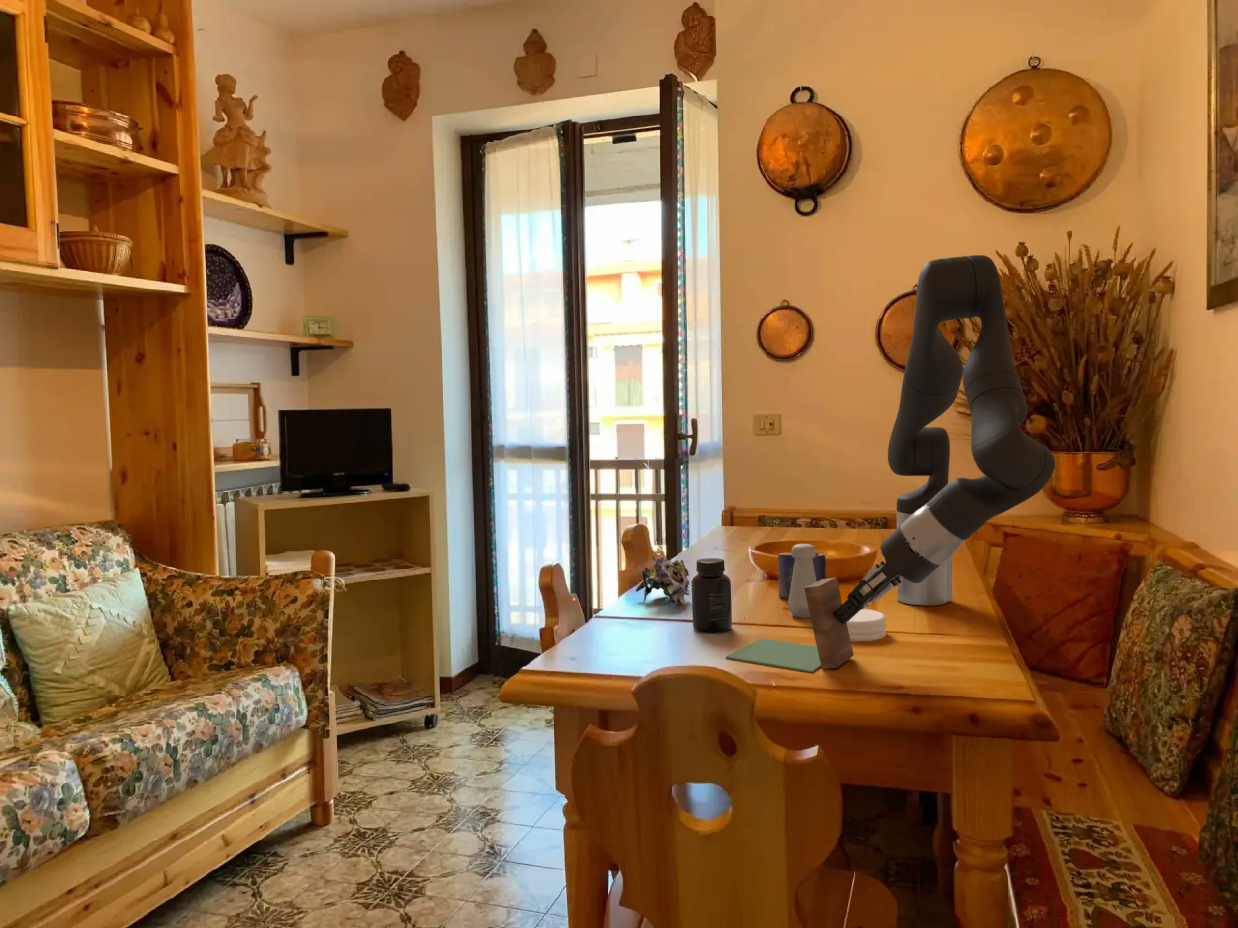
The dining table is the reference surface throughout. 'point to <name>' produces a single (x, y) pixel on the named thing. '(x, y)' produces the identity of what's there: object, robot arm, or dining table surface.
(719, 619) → the supplement bottle
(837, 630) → the wooden block
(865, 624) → the coaster
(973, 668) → the dining table surface
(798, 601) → the salt shaker
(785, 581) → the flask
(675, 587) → the passion flower
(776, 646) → the felt mat
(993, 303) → the robot arm
